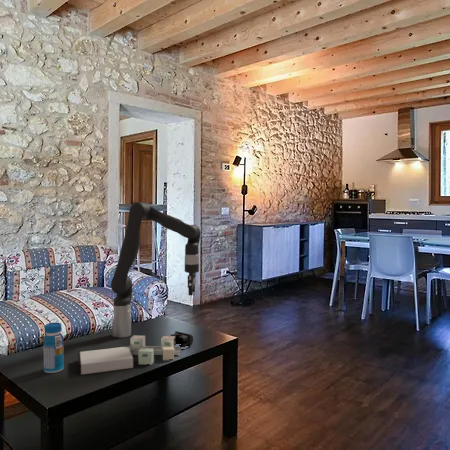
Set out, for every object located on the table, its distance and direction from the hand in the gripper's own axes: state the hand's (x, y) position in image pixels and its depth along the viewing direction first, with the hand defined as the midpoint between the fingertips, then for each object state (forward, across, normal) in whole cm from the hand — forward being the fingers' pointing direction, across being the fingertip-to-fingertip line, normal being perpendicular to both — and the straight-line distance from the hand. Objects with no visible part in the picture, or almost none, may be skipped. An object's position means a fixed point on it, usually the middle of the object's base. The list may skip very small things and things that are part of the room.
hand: (191, 293), depth 220 cm
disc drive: (+26, +34, -35) cm, 55 cm away
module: (+26, +31, -17) cm, 44 cm away
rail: (+26, +18, -16) cm, 35 cm away
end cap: (+26, +8, -4) cm, 27 cm away
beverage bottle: (+26, +41, -55) cm, 74 cm away
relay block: (+26, +26, -8) cm, 37 cm away
